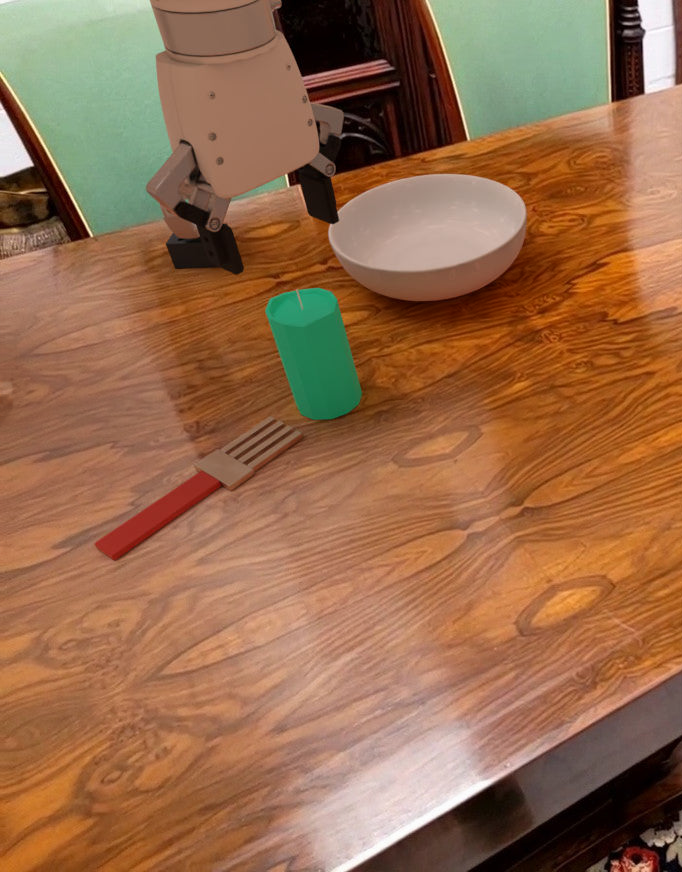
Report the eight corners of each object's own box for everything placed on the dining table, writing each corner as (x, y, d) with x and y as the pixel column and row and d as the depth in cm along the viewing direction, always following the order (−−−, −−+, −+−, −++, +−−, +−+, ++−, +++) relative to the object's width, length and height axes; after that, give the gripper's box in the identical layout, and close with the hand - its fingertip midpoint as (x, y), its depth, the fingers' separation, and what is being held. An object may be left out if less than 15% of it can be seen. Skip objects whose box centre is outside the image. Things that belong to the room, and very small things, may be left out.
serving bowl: (322, 254, 107) (307, 199, 103) (493, 212, 114) (487, 159, 110) (370, 348, 93) (355, 289, 89) (562, 293, 100) (557, 236, 96)
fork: (123, 567, 72) (120, 562, 72) (87, 542, 74) (84, 537, 74) (305, 438, 83) (304, 433, 83) (270, 419, 85) (268, 414, 85)
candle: (283, 415, 86) (246, 304, 78) (316, 376, 90) (283, 267, 82) (343, 424, 84) (311, 313, 77) (373, 384, 89) (345, 275, 81)
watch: (239, 239, 110) (210, 150, 103) (219, 275, 104) (187, 183, 97) (191, 240, 110) (159, 151, 103) (169, 276, 104) (132, 185, 97)
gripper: (280, -15, 72) (328, 190, 83) (69, 49, 61) (156, 275, 73) (348, 3, 69) (388, 213, 80) (138, 73, 58) (218, 305, 69)
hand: (278, 242), depth 76 cm, fingers open, 9 cm apart
